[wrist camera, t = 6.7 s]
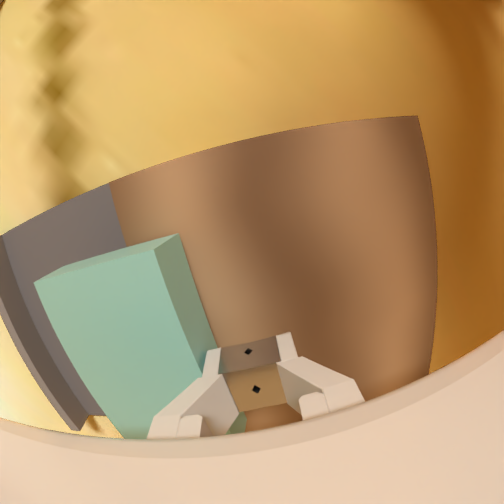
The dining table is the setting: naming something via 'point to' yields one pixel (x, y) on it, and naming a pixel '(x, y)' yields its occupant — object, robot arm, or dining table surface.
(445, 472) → the robot arm
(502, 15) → the dining table surface
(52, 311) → the pale green rectangular block
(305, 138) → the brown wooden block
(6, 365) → the dining table surface
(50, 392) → the tray
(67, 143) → the dining table surface
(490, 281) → the dining table surface
